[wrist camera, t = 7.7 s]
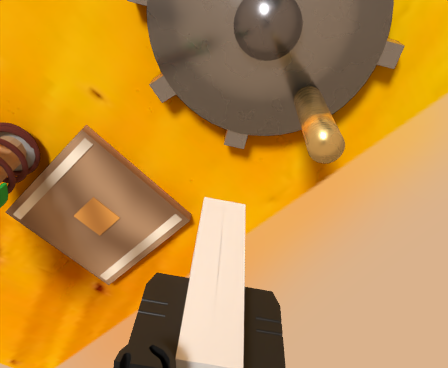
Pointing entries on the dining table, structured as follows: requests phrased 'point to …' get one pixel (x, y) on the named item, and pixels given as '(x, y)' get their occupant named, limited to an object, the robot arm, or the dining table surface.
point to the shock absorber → (15, 157)
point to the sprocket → (270, 62)
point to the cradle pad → (98, 208)
